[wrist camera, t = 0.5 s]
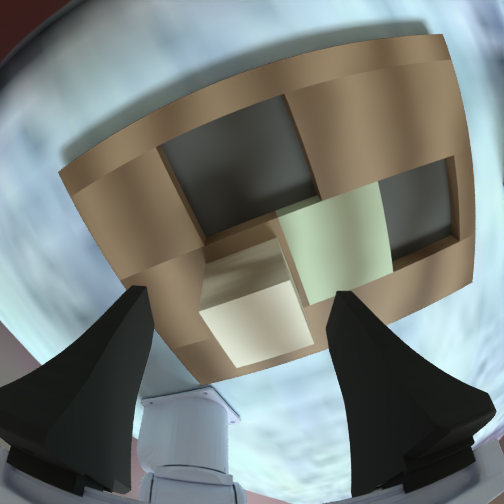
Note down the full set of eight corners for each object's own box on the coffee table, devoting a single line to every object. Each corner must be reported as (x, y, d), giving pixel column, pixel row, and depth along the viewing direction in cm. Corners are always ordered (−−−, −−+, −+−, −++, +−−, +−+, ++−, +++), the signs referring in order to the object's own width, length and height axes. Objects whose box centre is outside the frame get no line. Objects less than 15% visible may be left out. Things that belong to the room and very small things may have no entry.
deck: (202, 373, 27) (201, 385, 25) (68, 167, 17) (58, 172, 16) (463, 274, 23) (472, 282, 22) (430, 36, 13) (442, 34, 12)
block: (235, 317, 22) (236, 368, 17) (205, 264, 19) (198, 311, 15) (299, 295, 21) (314, 343, 17) (276, 237, 19) (289, 279, 14)
